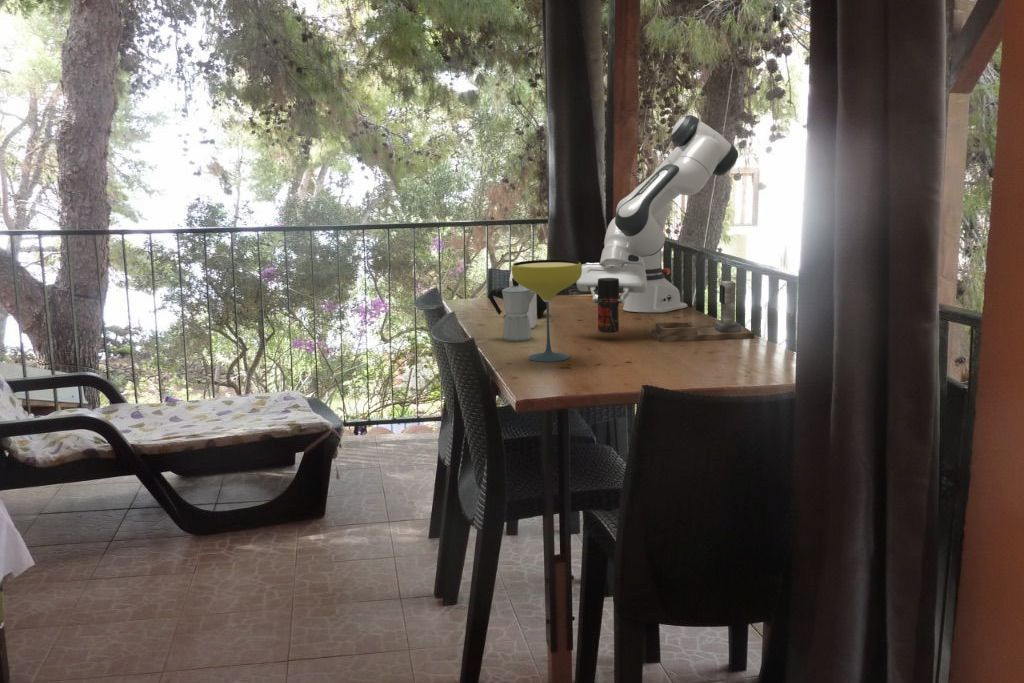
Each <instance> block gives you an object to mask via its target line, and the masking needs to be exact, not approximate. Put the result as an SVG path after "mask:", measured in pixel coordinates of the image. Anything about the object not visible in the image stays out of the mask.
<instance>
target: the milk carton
mask: <svg viewBox="0 0 1024 683" xmlns="http://www.w3.org/2000/svg"><path fill="white" fill-rule="evenodd" d="M512 278H513V276H512V266H511V267H510V275H509V279H508V280H509V282H508V283H509V286H510V287H511V286H513V282H512ZM509 286H508V287H509ZM518 286H522V285H520V284H519V285H518ZM522 287H523V286H522ZM527 316H528V318H529V323H530V329H531V330H532V329H534V328H535V327H536V326H537V325H538V317H537V297H536V293H535V294H534V296H533V298H532V300H531V302H530V304H529V310H528V312H527Z"/></svg>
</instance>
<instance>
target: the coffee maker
mask: <svg viewBox="0 0 1024 683" xmlns="http://www.w3.org/2000/svg"><path fill="white" fill-rule="evenodd" d="M512 282H513V286H511V287H509V286H508V287H505V286H504V287H503V286H501V287H499V288H497V289H496V288H494V289H492V290H490V292H489V294H488V300H489V301H490V303H491V304H492V306H493V307H494V309H495V311H496V313H497V314H498V315H501V314H502V312H503V311H502V310H501V309H500V306H499V305H498V304H497V301H496V299H495V298H494V296H495V297H496V298H499V299H501V300H503V307H504V311H505V314H506V316H505V317H504V322H503V323H504V324H503V332H502V340H504V341H506V342H525V341H526V342H527V341H530V340H531V339H533V335H532V329H530V323H529V318H528V316H527V312H528V310H529V304H530V302H531V300H532V298H533V296H534V294H535V292H533V291H531V290H529V289H527V288H525V287H522V286H518V285H519V283H517V282H516V281H515V280H514V279H513V278H512Z"/></svg>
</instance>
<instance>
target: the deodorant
mask: <svg viewBox="0 0 1024 683" xmlns="http://www.w3.org/2000/svg"><path fill="white" fill-rule="evenodd" d="M619 294H620V292H619V279H618V278H599V279H598V292H597V295H598V303H597V332H598V333H603V334H614V333H619V330H620V328H619V326H620V322H619V321H620V320H619V319H620V315H619V314H620V310H619V308H620V304H618V296H620V295H619Z"/></svg>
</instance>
